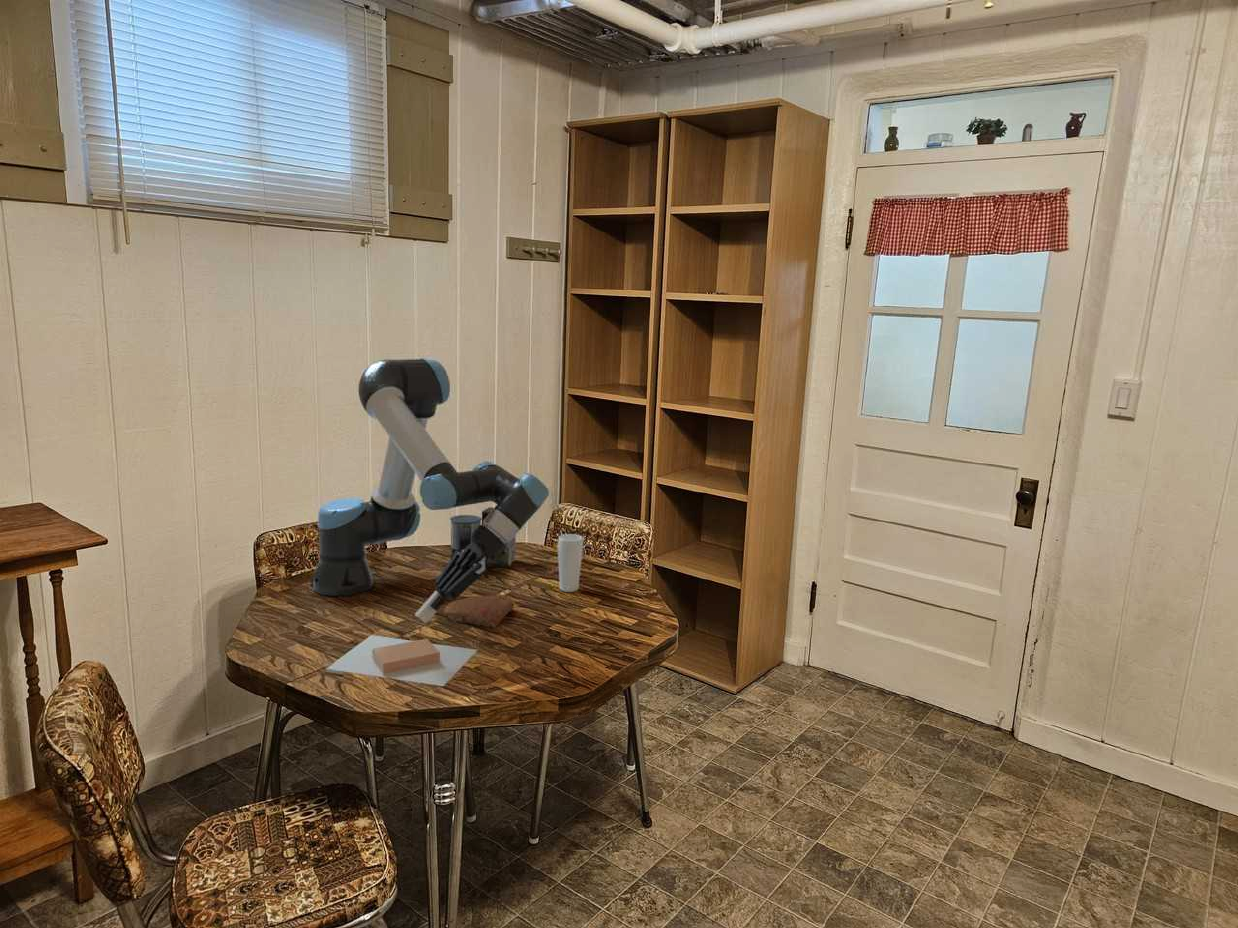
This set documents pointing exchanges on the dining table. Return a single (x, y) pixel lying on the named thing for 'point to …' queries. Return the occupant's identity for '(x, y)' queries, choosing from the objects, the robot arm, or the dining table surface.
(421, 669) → the grey mat
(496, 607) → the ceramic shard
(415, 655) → the terracotta tile
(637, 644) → the dining table surface
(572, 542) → the drinking glass
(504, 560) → the dark cardboard box
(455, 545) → the milk frother
